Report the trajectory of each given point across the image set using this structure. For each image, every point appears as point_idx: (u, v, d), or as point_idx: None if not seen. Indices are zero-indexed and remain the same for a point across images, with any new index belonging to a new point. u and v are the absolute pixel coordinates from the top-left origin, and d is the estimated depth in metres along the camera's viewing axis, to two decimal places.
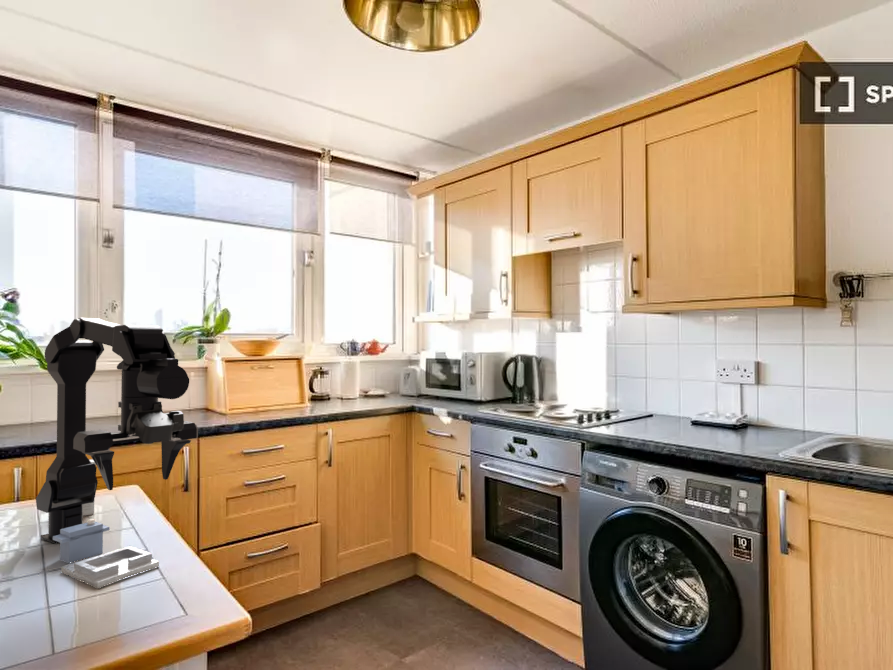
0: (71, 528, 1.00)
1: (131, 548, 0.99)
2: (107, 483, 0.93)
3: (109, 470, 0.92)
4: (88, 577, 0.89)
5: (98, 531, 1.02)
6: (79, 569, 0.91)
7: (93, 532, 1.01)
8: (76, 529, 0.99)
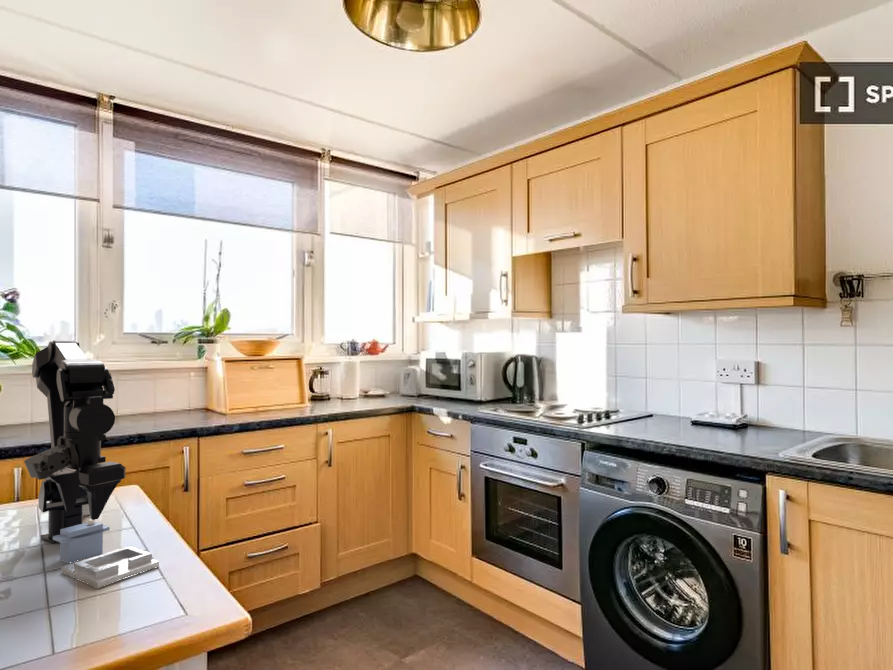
0: (71, 528, 1.00)
1: (131, 548, 0.99)
2: None
3: (61, 493, 1.03)
4: (88, 577, 0.89)
5: (98, 531, 1.02)
6: (79, 569, 0.91)
7: (93, 532, 1.01)
8: (76, 529, 0.99)
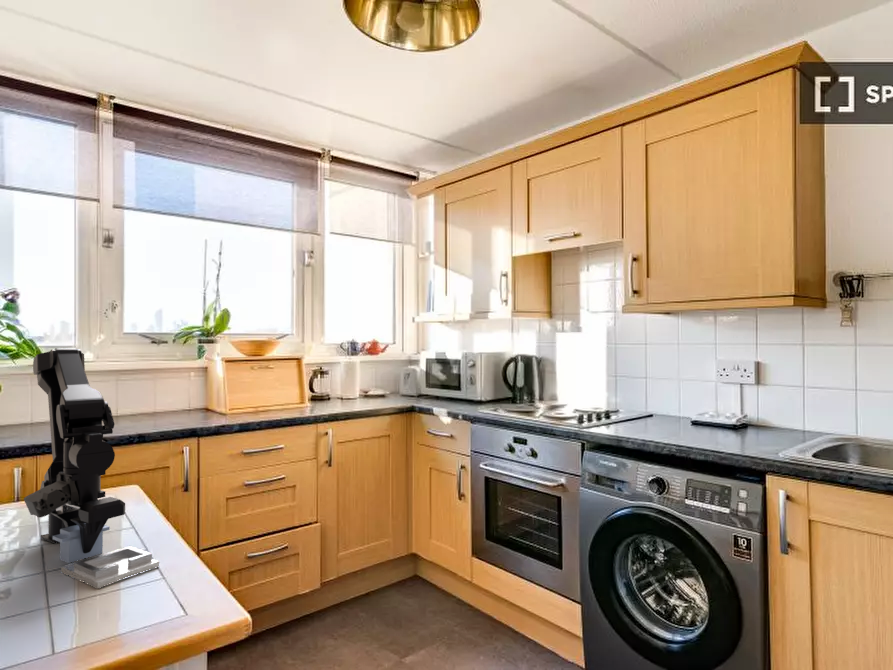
0: (71, 527, 1.00)
1: (131, 548, 0.99)
2: None
3: None
4: (88, 577, 0.89)
5: None
6: (79, 569, 0.91)
7: None
8: (76, 529, 0.99)
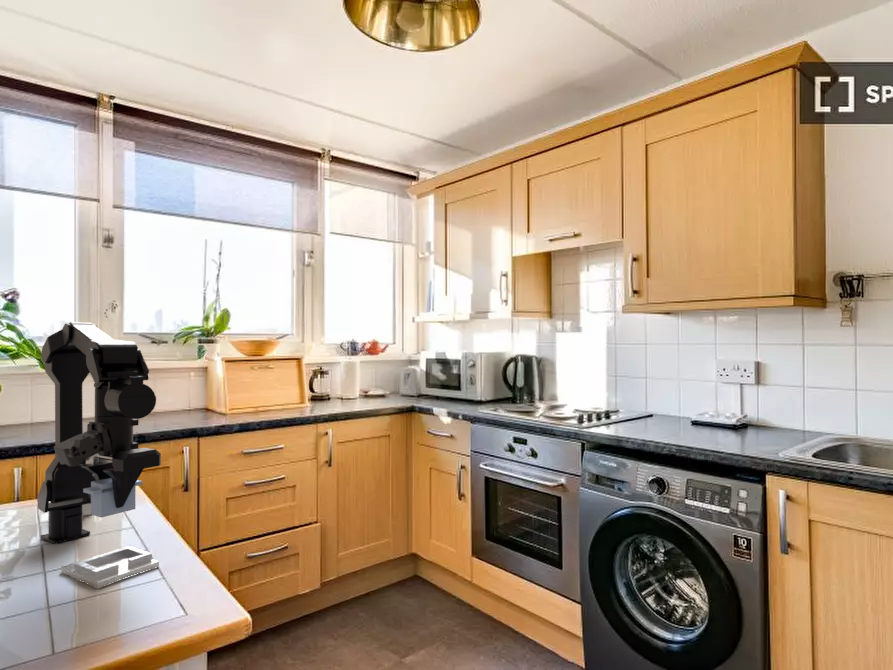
0: (102, 480, 0.93)
1: (131, 548, 0.99)
2: None
3: None
4: (88, 577, 0.89)
5: None
6: (79, 569, 0.91)
7: None
8: (108, 481, 0.93)
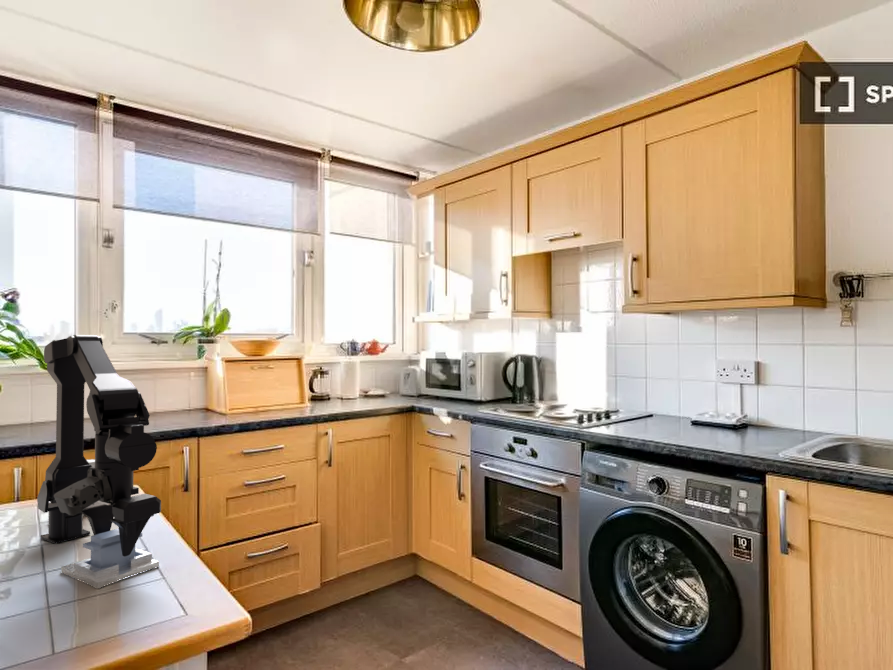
0: (102, 534, 0.93)
1: None
2: None
3: (92, 527, 0.96)
4: (88, 577, 0.89)
5: None
6: (79, 569, 0.91)
7: None
8: (108, 536, 0.93)
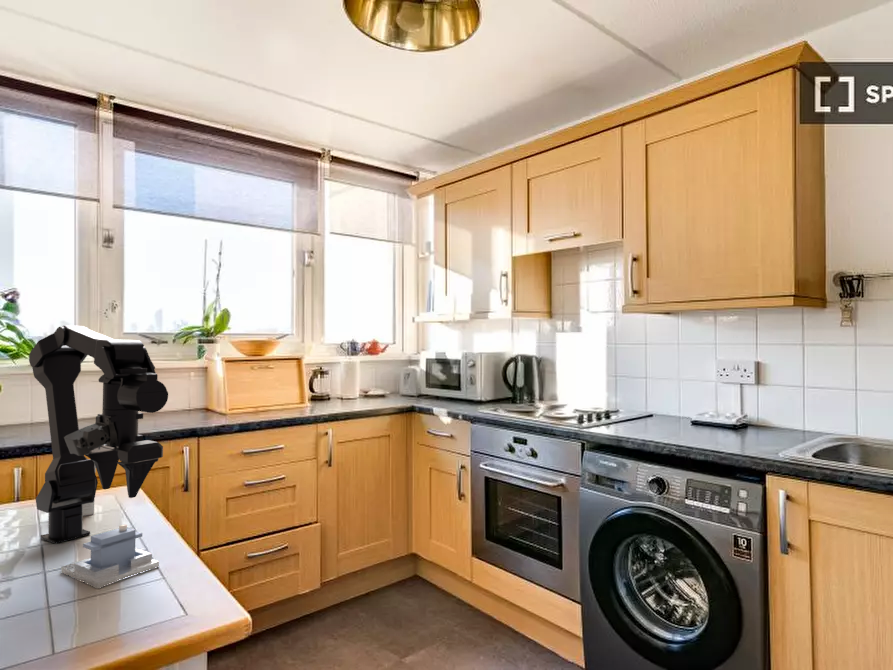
0: (102, 534, 0.93)
1: None
2: None
3: (98, 470, 1.03)
4: (88, 577, 0.89)
5: (131, 538, 0.95)
6: (79, 569, 0.91)
7: (125, 539, 0.94)
8: (108, 536, 0.93)
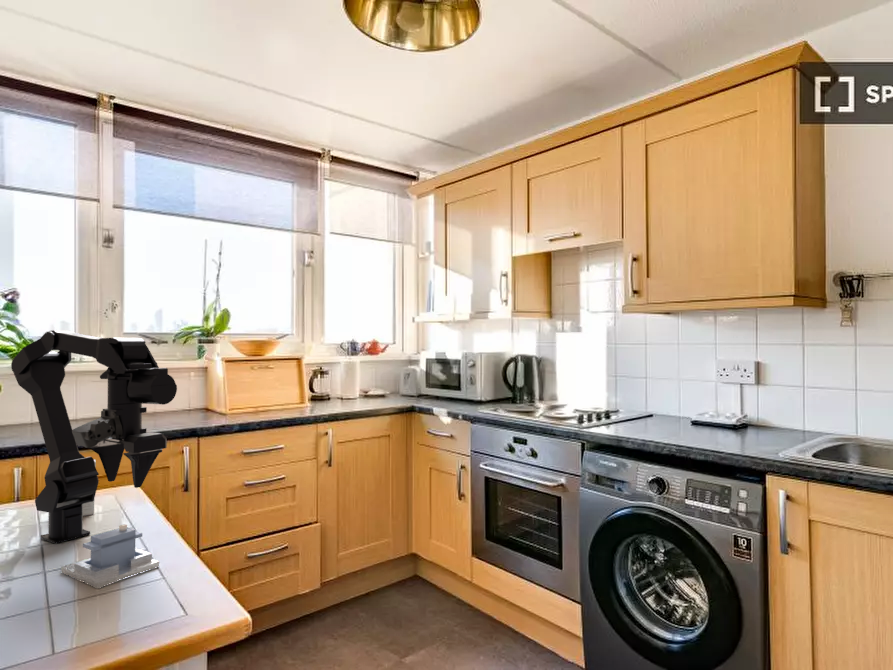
0: (102, 534, 0.93)
1: None
2: None
3: (103, 463, 1.07)
4: (88, 577, 0.89)
5: (131, 538, 0.95)
6: (79, 569, 0.91)
7: (125, 539, 0.94)
8: (108, 536, 0.93)
